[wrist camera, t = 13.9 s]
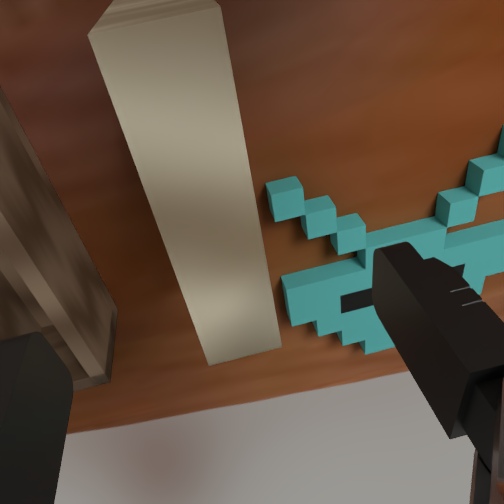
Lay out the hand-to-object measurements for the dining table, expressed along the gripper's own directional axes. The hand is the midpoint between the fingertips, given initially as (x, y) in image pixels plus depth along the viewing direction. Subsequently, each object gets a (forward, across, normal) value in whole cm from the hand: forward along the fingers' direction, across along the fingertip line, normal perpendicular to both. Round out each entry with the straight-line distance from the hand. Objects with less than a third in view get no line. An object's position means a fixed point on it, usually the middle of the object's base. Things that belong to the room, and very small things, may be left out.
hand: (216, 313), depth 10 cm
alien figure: (+19, -14, +17) cm, 29 cm away
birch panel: (+18, 0, 0) cm, 18 cm away
